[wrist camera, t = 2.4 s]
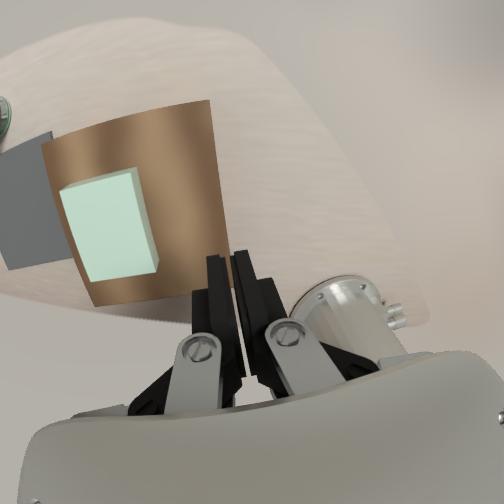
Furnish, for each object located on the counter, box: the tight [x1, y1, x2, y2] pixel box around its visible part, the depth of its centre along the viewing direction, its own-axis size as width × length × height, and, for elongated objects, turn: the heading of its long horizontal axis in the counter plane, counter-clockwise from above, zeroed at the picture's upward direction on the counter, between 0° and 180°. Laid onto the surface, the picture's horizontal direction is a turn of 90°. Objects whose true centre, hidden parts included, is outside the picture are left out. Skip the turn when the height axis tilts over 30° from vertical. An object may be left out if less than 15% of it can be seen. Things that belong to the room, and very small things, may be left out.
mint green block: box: [59, 167, 159, 282], centre depth 20 cm, size 6×8×2 cm
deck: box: [41, 100, 234, 307], centre depth 23 cm, size 14×16×4 cm
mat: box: [0, 131, 73, 270], centre depth 22 cm, size 12×13×1 cm
